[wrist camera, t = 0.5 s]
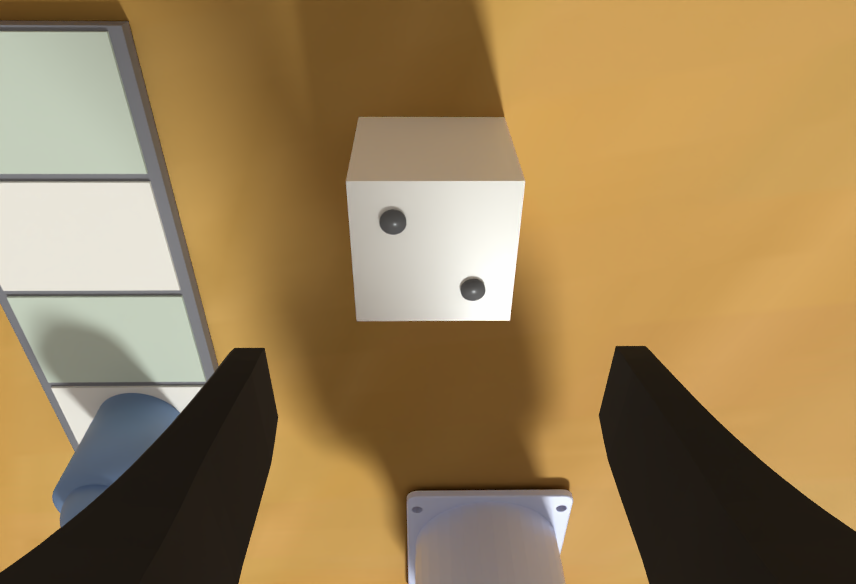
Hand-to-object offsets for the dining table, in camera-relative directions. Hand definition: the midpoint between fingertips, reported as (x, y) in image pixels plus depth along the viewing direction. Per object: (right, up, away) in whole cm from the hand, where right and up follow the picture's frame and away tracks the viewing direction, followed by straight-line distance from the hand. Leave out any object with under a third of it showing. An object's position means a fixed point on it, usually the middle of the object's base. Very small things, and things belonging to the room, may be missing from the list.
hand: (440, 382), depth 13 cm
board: (-12, +2, +10) cm, 16 cm away
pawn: (-12, -4, +13) cm, 18 cm away
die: (0, +6, +8) cm, 9 cm away
